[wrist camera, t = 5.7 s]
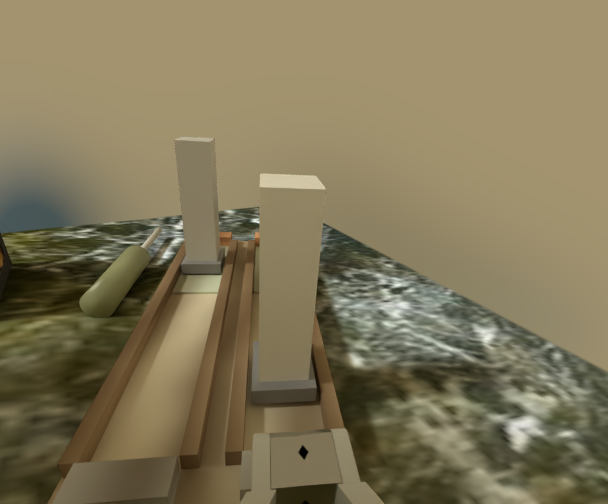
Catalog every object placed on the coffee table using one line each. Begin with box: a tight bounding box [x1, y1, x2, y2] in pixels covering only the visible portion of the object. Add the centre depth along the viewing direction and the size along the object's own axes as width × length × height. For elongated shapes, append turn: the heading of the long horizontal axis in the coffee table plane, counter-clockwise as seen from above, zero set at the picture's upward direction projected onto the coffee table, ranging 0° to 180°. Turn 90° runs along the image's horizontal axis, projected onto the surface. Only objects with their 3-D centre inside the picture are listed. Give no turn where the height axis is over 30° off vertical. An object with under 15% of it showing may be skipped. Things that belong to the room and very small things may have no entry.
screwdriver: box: [79, 227, 162, 318], centre depth 33 cm, size 17×3×3 cm, turn 7°
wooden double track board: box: [47, 232, 344, 504], centre depth 26 cm, size 13×29×2 cm, turn 7°
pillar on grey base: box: [174, 137, 225, 274], centre depth 30 cm, size 4×4×12 cm
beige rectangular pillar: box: [251, 174, 326, 404], centre depth 17 cm, size 4×4×12 cm
